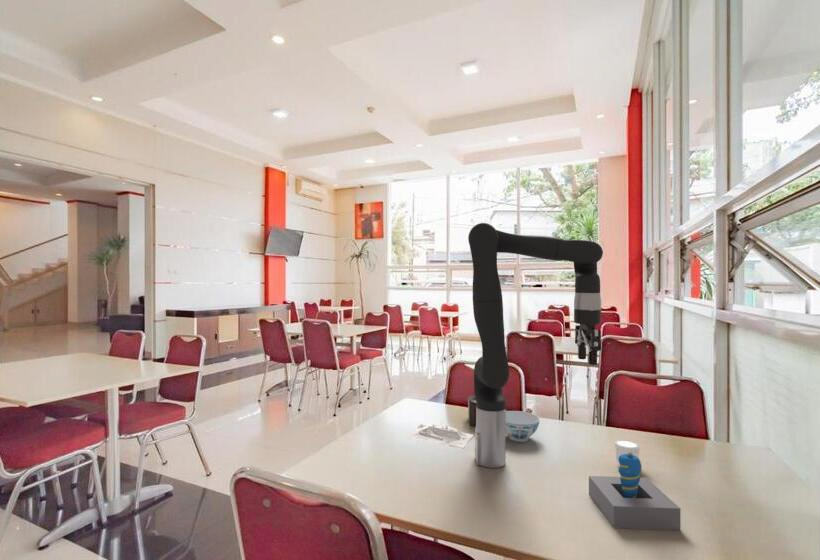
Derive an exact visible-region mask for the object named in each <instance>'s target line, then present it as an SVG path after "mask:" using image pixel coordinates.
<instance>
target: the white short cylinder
mask: <svg viewBox="0 0 820 560" xmlns="http://www.w3.org/2000/svg"><path fill="white" fill-rule="evenodd" d="M614 449H615V460H616V466H617V467H618V468H619V466H620V463H619V460H618V458H619V456H620V455H623V454H628V452H632V453H633V455H634V456H637V457H638V458H639V452H640V445H639V444H638V443H636V442H635V441H630V440H628V439H627V440H625V439H617V440H615V441H614ZM631 450H632V451H631Z"/></svg>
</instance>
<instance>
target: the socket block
mask: <svg viewBox="0 0 820 560" xmlns="http://www.w3.org/2000/svg"><path fill="white" fill-rule="evenodd" d="M620 477H621V476H609V475H608V476H606V475H605V476H604V475H588V496H589V495H590V496H591V497H590V496H589V497H590V499H591V500H592V499H593V500H592V501H593V502H594V504H595V503H596V504H595V505H596V506H597V507H598V509H599V510H600V512H601V513H602V515H603V516H604V517H605V518H606V519H607V521H608V523H609V524H610V525H611V527H612V528H613V529H632V530H633V529H636V530H637V529H638V530H658V531H659V530H661V531H663V530H664V531H681V507H680V506H678V505H677V503H675V502H674V501H673V500H672V499H670V498H669V497H668V496H667V495H666V494H665V493H664V492H663V491H662V490H661V489H660V488H658V487H657V486H656V485H655V483H653V482H652V481H651V480H649V479H648V477H640V481H639V483H638V492H637V494H636V496H637V498H624V497H623V493H622V484H621V481H620Z"/></svg>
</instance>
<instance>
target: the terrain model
mask: <svg viewBox="0 0 820 560" xmlns="http://www.w3.org/2000/svg"><path fill="white" fill-rule="evenodd" d="M407 437H408V438H409V439H414V440H416V441H417V440H418V441H422V442H432V443H437V444H440V445H446V444H449V447H454V448H455V447H456V448H460V449H465V447H466V445H467V444H468V443H469V442H470V441H471V440H472V439H473V437H475V434H473V433H467V432H462V431H461V430H459V429H458V428H454V427H453V426H452V425H446V424H445V425H443V424H434V423H433V424H432V425H430V426H427V424H423V423H420V424H419V425H418V426H417V427H416V429H415V430H414V431H412V432H411V433H409V435H408V436H407Z"/></svg>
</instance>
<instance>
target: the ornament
mask: <svg viewBox="0 0 820 560" xmlns="http://www.w3.org/2000/svg"><path fill="white" fill-rule="evenodd" d="M631 451H632V450H631ZM618 460H619V463H620V466H619V467H618V473H619V475H620V476H619V477H620V481H621V484H622V493H623V497H624V498H637V496H636V494H637V492H638V483H639V481H640V478H641V472H642V463H641V460H640V458H639V456H638V457H637V456H634V455H633V453H632V452H628V454H623V455H620V456H619V458H618Z"/></svg>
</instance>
